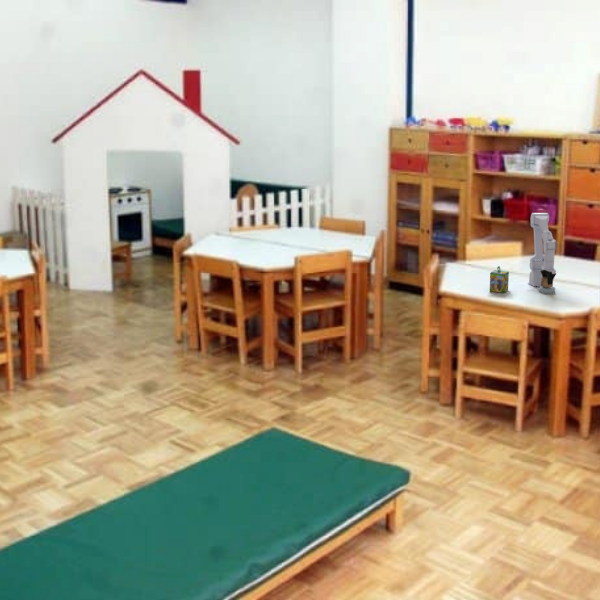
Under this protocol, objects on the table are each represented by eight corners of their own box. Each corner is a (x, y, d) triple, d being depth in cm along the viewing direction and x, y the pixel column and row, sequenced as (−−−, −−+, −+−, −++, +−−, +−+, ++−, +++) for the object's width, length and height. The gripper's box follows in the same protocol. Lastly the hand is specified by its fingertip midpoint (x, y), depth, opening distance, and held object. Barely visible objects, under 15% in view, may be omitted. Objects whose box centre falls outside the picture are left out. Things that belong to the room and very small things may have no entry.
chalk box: (504, 293, 518) (505, 268, 514) (488, 291, 522) (490, 267, 519) (508, 290, 526) (509, 265, 522) (493, 288, 530) (494, 264, 526)
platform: (536, 291, 522) (536, 286, 522) (549, 290, 525) (549, 285, 524) (544, 294, 514) (545, 289, 513) (557, 293, 517) (558, 288, 516)
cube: (540, 285, 521) (541, 277, 519) (548, 285, 522) (549, 276, 520) (544, 287, 516) (545, 279, 515) (552, 287, 517) (553, 278, 516)
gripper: (536, 258, 521) (535, 280, 524) (548, 263, 507) (547, 286, 511) (547, 258, 522) (546, 280, 526) (559, 262, 509) (558, 285, 512)
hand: (547, 283), depth 518 cm, fingers closed on cube, 5 cm apart
